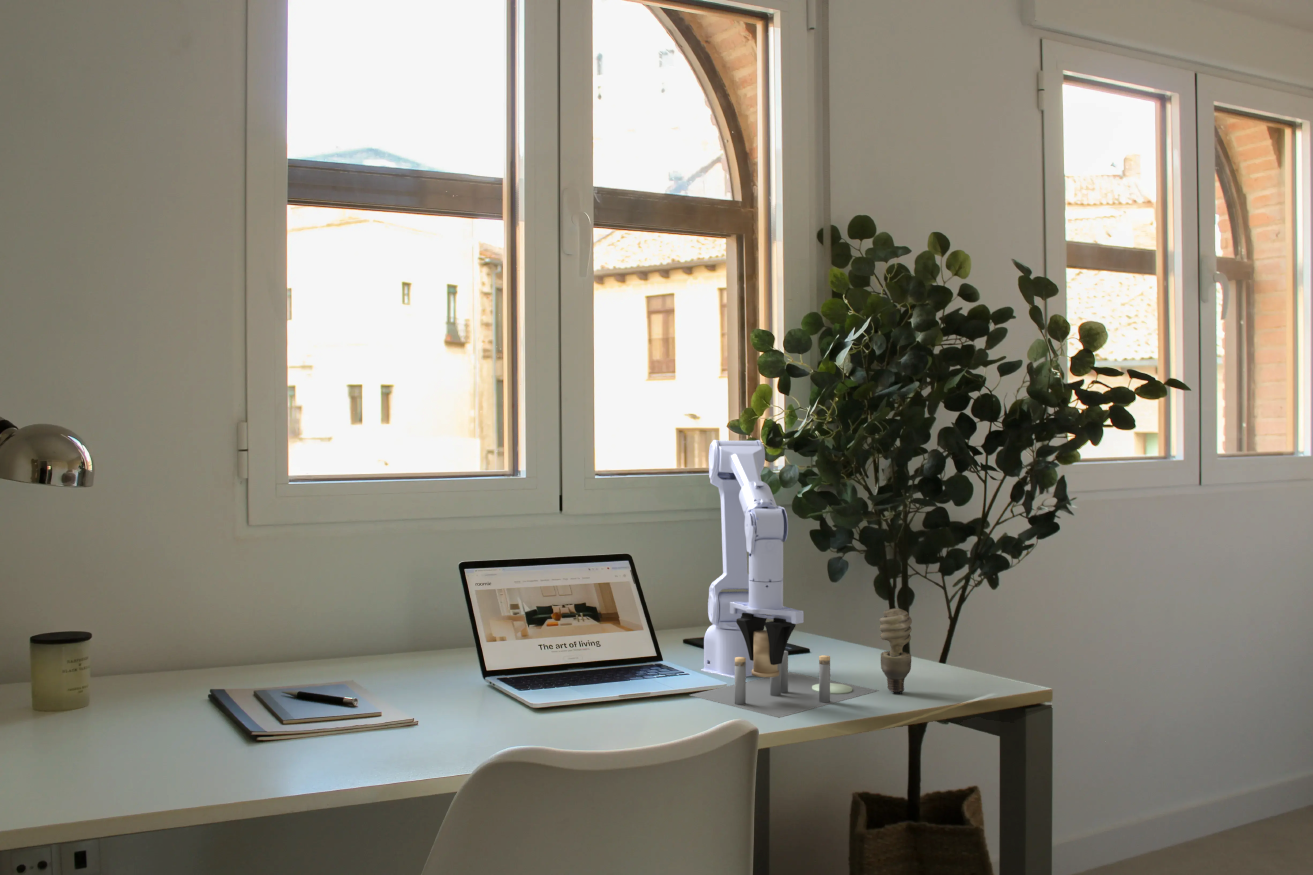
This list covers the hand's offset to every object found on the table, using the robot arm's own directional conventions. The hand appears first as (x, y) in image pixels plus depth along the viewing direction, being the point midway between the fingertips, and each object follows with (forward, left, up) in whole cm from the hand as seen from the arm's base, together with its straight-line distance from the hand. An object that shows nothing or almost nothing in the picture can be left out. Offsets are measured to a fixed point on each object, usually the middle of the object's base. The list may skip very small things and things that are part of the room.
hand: (765, 661), depth 172 cm
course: (-2, +7, -7) cm, 10 cm away
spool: (0, 0, -2) cm, 2 cm away
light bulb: (+11, +21, -7) cm, 25 cm away
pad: (+2, +15, -6) cm, 17 cm away
